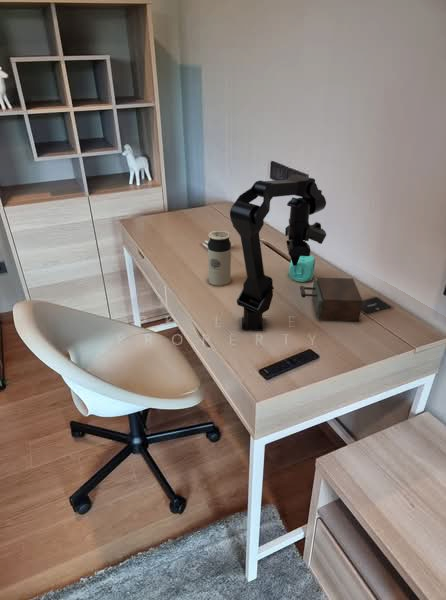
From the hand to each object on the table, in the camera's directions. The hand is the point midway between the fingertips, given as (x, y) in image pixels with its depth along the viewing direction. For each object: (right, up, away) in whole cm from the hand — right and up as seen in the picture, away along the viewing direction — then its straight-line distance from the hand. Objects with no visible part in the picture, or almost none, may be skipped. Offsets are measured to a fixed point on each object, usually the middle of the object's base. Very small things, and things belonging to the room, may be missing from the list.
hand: (294, 265), depth 137 cm
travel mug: (-24, -5, +18) cm, 31 cm away
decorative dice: (+6, -3, +21) cm, 22 cm away
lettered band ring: (-24, +10, +43) cm, 50 cm away
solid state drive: (+26, -14, +4) cm, 30 cm away
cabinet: (+14, -14, +1) cm, 20 cm away
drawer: (+9, -13, +1) cm, 16 cm away
